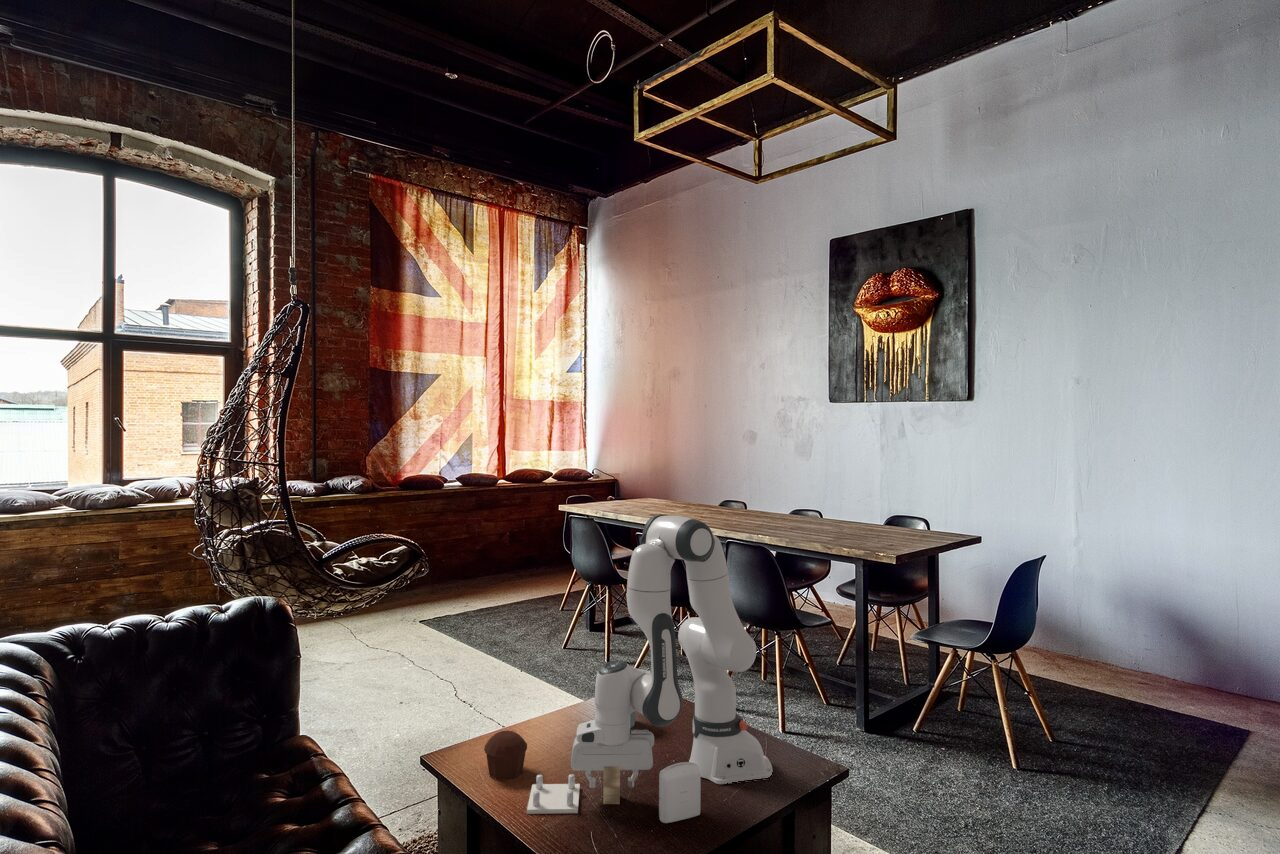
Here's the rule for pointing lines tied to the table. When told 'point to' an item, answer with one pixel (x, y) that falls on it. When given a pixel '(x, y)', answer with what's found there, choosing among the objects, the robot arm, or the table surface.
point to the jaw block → (611, 785)
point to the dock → (554, 797)
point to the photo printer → (679, 792)
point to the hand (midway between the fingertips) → (611, 786)
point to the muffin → (505, 755)
